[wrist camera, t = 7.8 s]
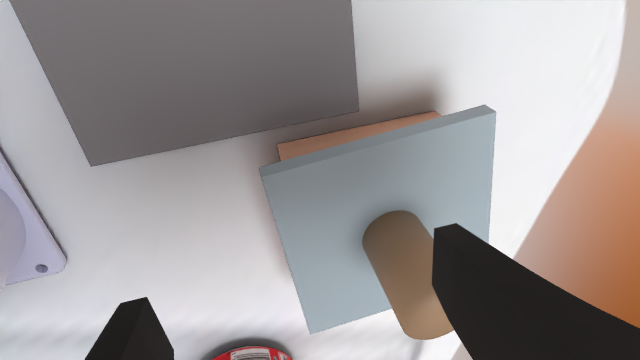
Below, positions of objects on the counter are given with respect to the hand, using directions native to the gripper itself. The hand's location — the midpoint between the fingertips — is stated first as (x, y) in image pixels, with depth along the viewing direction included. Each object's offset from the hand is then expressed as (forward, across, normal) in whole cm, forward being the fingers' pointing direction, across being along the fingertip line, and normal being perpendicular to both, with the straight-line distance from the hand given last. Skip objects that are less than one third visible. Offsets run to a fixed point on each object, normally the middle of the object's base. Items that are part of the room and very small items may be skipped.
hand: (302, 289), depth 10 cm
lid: (+7, -4, +4) cm, 9 cm away
